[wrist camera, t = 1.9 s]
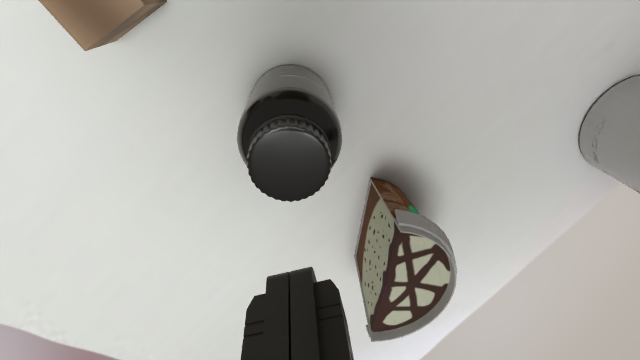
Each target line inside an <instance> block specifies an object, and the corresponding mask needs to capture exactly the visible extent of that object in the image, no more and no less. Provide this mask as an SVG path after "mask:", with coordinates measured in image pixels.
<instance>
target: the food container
mask: <svg viewBox="0 0 640 360" xmlns="http://www.w3.org/2000/svg"><path fill="white" fill-rule="evenodd" d="M354 256H355V261H356V267H357V272H358V277H359V282H360V287H361V292H362V297H363V302H364V307H365V312H366V317H367V322H368V325H366V328H367V331H368V334H369V337H370V338H371V341H372V342H375V341H386V340H393V339H396V338H400V337H403V336H406V335H409V334H412V333H414V332H416V331H418V330H420V329H422V328H423V327H425V326H426V325H428V324H429V323H431V322H432V321H433V320H434V319H435V318H437V317H438V316H439V315H440V314H441V312H442V311H443V310H444V309H445V308H446V306H447V305H448V303H449V302H450V300H451V298H452V296H453V293H454V290H455V286H456V274H457V268H456V261H455V257H454V254H453V250H452V247H451V244H450V242H449V239H448V238H447V236H446V235H445V233H444V232H443V231H442V230H441V229H440V228H439V227H438V226H437V225H436V224H435V223H433V222H432V221H430V220H429V219H427V218H425V217H423V216H421V215H420V214H419V213H418V212H417V210H416V209H415V208H414V206H413V205H412V204H411V202H410V201H409V200H408V199H407V197H406V196H405V195H404V193H403V192H402V191H401V190H400V189H399V188H398V187H396V186H395V185H393V184H392V183H389V182H387V181H385V180H381V179H377V178H370V181H369V186H368V191H367V196H366V201H365V205H364V210H363V215H362V220H361V225H360V230H359V235H358V240H357V245H356V250H355V255H354Z"/></svg>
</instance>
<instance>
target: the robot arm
mask: <svg viewBox="0 0 640 360" xmlns="http://www.w3.org/2000/svg"><path fill="white" fill-rule="evenodd" d="M580 149H581V153H582V154H583V156H584V158H585V159H586V160H587V161H588V162H589V163H590V164H592V165H593V166H595V167H597V168H598V169H600V170H602V171H603V172H605V173H607V174H609V175H610V176H612V177H614V178H615V179H617V180H619V181H620V182H622V183H623V184H625V185H627V186H628V187H630V188H632V189H633V190H635V191H637V192H638V193H640V75H638V76H634V77H631V78H629V79H627V80H624V81H622V82H620V83H619V84H617V85H615V86H614V87H612V88H611V89H610V90H608V91H607V92H606V93H605V94H604V95H602V96H601V97H600V98H599V100H598V101H597V102H596V103H595V104H594V105H593V106H592V108H591V110H590V111H589V113H588V114H587V116H586V118H585V120H584V122H583V125H582V128H581V132H580ZM241 360H354V358H353V353H352V348H351V342H350V337H349V331H348V325H347V320H346V316H345V312H344V309H343V305H342V301H341V297H340V293H339V289H338V288H337V287H336V286H335V284H334V283H333V282H332V281H331V280H330V279H329V280H324V281H320V282H317V281H316V277H315V274H314V270H313V268H312V267H308V268H304V269H299V270H295V271H291V272H286V273H282V274H277V275H273V276H268V277H267V282H266V294H261V295H257V296H254V298H253V299H252V301H251V303H250V305H249V307H248V308H247V311H246V320H245V328H244V339H243V345H242V354H241Z"/></svg>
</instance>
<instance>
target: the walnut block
mask: <svg viewBox="0 0 640 360" xmlns="http://www.w3.org/2000/svg"><path fill="white" fill-rule="evenodd" d="M39 1H40V2H41V3H42V5H43V6H44V7H45V8H46V9H47V10H48V11H49V12H50V13H51V14H52V16H53V17H54V18H55V19H56V20H57V21H58V22H59V23H60V24H61V25H62V27H63V28H64V29H65V30H66V31H67V32H68V33H69V34H70V35H71V36H72V37H73V39H74V40H75V41H76V42H77V43H78V44H79V45H80V46H81V47H82V48H83V50H84V51H87V50H90V49H93V48H96V47H99V46H102V45H105V44H108V43H111V42H114V41H117V40H118V39H119V38H120V37H122V36H123V35H124V34H126V33H127V32H128V31H130V30H131V29H132V28H133V27H135V26H136V25H137V24H139V23H140V22H141V21H143V20H144V19H145V18H146V17H148V16H149V15H150V14H152V13H153V12H154V11H155V10H157V9H158V8H159V7H161V6H162V5H163V4H165V3H166V2H167V1H166V0H39Z"/></svg>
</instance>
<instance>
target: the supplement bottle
mask: <svg viewBox="0 0 640 360" xmlns="http://www.w3.org/2000/svg"><path fill="white" fill-rule="evenodd" d="M237 142H238V148H239V152H240V155H241V157H242V159H243V161H244V163H245V164H246V166H247V168H248V169H249V172H248V174H249V175H250V176H251V180H252V182H253V183H255V186H256V187H257V188H259V189H260V190H261V192H262V193H265V194H266V195H267V196H268V197H273V198H274V199H276V200H281V201H290V202H292V201H295V200H296V201H299V200H301V199H306V198H308V197H309V196H312V195H314V193H315V192H317V191H319V190H320V188H321V187H322V186H323V185H324V184H325V181H326V180H327V179H328V175H329V173H330V171H331V168H332V167H333V166H334V164H335V162H336V160H337V159H338V156H339V153H340V150H341V145H342V133H341V127H340V123H339V120H338V117H337V114H336V111H335V108H334V104H333V101H332V98H331V95H330V93H329V90H328V88H327V87H326V85H325V83H324V82H323V81H322V80H321V78H320V77H319V76H318V75H316V74H315V73H314V72H312V71H310V70H309V69H306V68H304V67H301V66H295V65H284V66H279V67H276V68H274V69H272V70H270V71H268V72H267V73H265V74H264V75H263V76H262V77H261V78H260V79H259V80H258V81H257V83H256V84H255V86H254V88H253V90H252V92H251V94H250V97H249V99H248V102H247V104H246V107H245V109H244V112H243V114H242V117H241V120H240V123H239V127H238V133H237Z"/></svg>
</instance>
